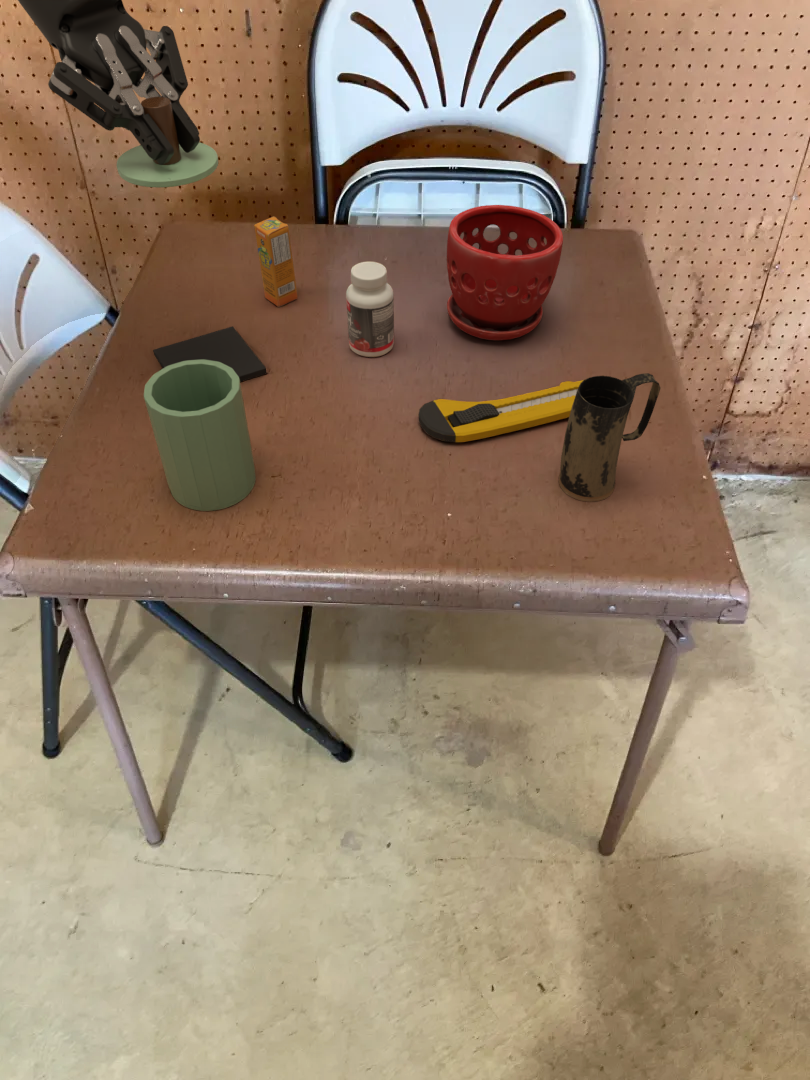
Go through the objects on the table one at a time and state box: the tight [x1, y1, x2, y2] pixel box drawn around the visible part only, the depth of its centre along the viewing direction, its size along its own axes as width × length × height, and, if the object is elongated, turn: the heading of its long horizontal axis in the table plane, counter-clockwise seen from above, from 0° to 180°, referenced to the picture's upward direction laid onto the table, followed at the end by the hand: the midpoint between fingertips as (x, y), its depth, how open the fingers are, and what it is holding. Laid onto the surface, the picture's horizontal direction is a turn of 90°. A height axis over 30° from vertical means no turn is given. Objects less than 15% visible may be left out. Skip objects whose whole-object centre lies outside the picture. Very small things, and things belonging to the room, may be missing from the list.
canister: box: [143, 359, 257, 512], centre depth 79 cm, size 8×8×12 cm
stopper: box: [115, 97, 219, 189], centre depth 76 cm, size 9×9×6 cm
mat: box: [152, 326, 268, 383], centre depth 97 cm, size 10×10×1 cm
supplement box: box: [253, 216, 299, 308], centre depth 103 cm, size 3×3×10 cm
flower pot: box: [446, 204, 564, 341], centre depth 99 cm, size 13×13×12 cm
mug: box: [558, 372, 661, 503], centre depth 79 cm, size 8×6×12 cm
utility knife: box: [418, 379, 585, 443], centre depth 91 cm, size 7×22×2 cm, turn 111°
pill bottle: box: [345, 261, 395, 358], centre depth 96 cm, size 5×5×10 cm
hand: (181, 152), depth 76 cm, fingers closed on stopper, 2 cm apart
